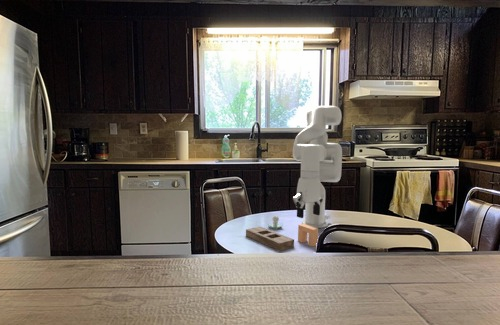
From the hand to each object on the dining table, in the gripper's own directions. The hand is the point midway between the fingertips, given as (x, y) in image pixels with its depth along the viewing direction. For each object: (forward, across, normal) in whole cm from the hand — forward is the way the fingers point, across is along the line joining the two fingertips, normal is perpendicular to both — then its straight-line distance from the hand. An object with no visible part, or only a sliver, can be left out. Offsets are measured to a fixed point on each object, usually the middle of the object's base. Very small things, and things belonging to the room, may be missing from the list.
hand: (308, 216), depth 137 cm
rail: (+12, +11, -12) cm, 20 cm away
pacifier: (+12, -4, -25) cm, 28 cm away
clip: (+12, -1, -1) cm, 12 cm away
